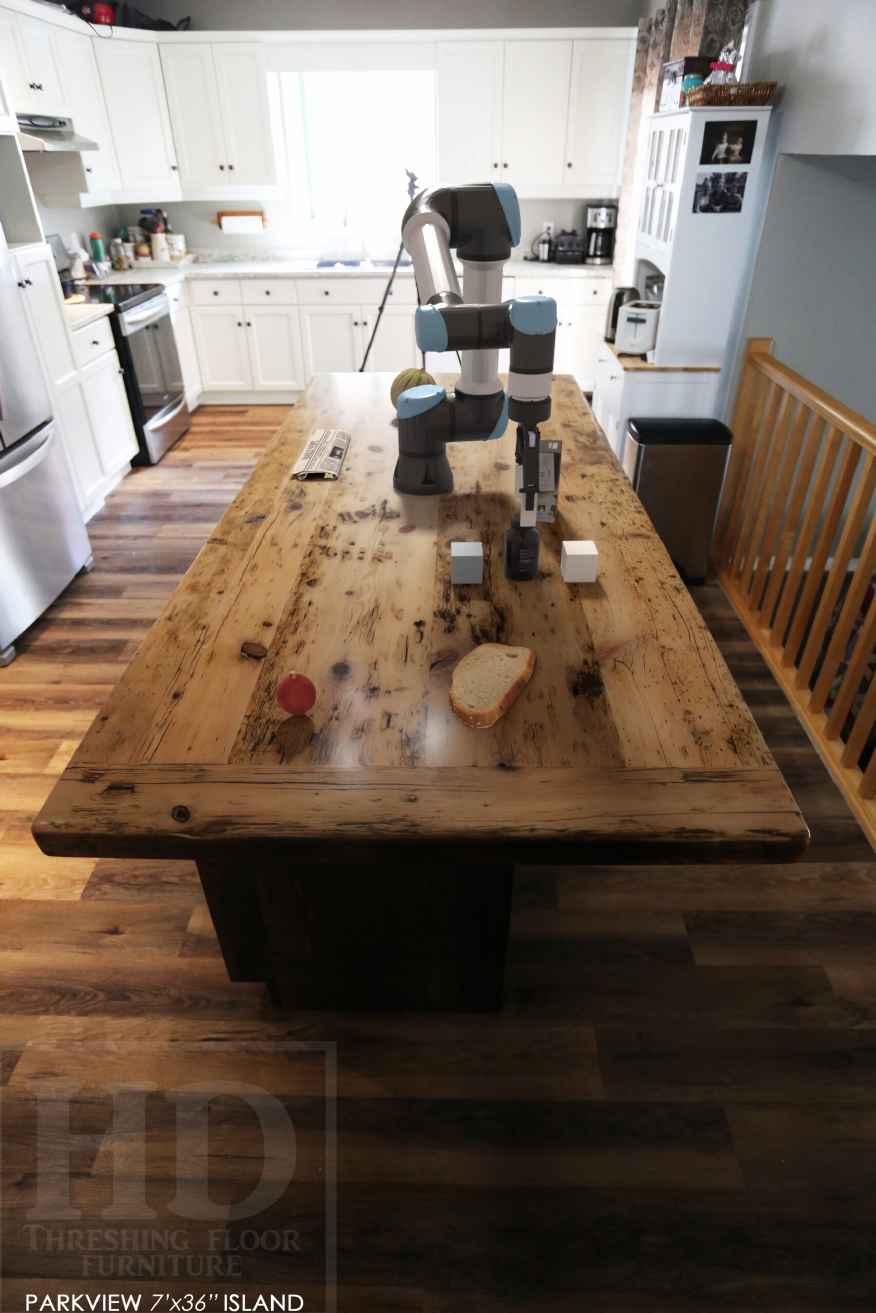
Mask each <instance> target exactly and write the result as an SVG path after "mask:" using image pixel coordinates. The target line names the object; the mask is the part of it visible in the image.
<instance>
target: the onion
mask: <svg viewBox="0 0 876 1313" xmlns="http://www.w3.org/2000/svg"><path fill="white" fill-rule="evenodd" d="M316 700H317V688H316V687H315V685H314V683H313V681H312V680H311V679H310V678H309V677H308V676H306V675H304V674H303V673H299V672H297V671H290V672H289V674H288V675H286V676H285V677H283V678H282V679H281V681H280V683H279V684H278V685H277V689H276V702H277V704H278V705H279V707H280V709H281V710H282V711H284V712H286V713H288V714H290V715H293V716H296V717H299V716H300V717H301V716H303V715H304V714H306V713H307V712H308V711H309V710H311V709H312V707H314V706H315V704H316Z"/></svg>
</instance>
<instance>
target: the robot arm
mask: <svg viewBox="0 0 876 1313" xmlns="http://www.w3.org/2000/svg"><path fill="white" fill-rule="evenodd" d="M519 204H520V203H519V198H518V196H517V192H516V190H515V188H514V187H513V186H512V185H511V184H510V183H508V182H498V181H497V182H496V181H480V182H478V181H477V182H458V183H457V182H456V183H455V182H454V183H448V182H447V183H445V182H444V183H438V184H434V185H431V186H429V187H427V188H425V189H423V190H422V191H421V192H420V193H418V194H417V195H416V196H415V197H414V198H413V199H412V201H411V202H410V203H409V205H408V206H407V208H406V210H405V212H404V215H403V216H402V221H401V228H400V232H401V233H400V234H401V241H402V243H403V244H402V245H403V248H404V249H405V251H406V253H407V254H408V255H409V256H410V259H411V263H412V267H413V272H414V276H415V280H416V284H417V290H418V294H419V300H420V304H421V305H419V306H418V307H417V308H416V309H415V313H414V332H415V334H414V335H415V341H416V346H417V348H418V350H420V351H421V352H426V353H427V352H428V353H429V352H430V353H433V352H434V353H435V352H436V353H438V354H439V353H444V352H445V353H446V352H461V355H460V356H461V361H460V362H461V364H460V365H461V366H460V369H461V370H460V371H461V372H460V377H458V379H457V380H456V381H455V382H454V385H453V386H454V388H453V389H454V390H453V391H447V389H446V388H445V387H444V385H440V384H437V385H422V386H417V387H413V388H410V389H408V390H406V391H404V392H402V393H401V394H400V395H399V397H398V399H397V410H396V414H395V415H396V418H397V437H398V438H397V440H398V442H397V444H398V457H397V461H396V464H395V467H394V472H393V475H392V483H393V484H392V485H393V486H392V487H394V489H396V490H397V491H398V492H400V493H403V494H407V495H413V496H414V495H415V496H429V495H431V496H432V495H436V494H441V493H444V492H446V491H448V490H450V489H451V488H453V485H454V474H453V472H452V471H453V470H452V468H451V465H450V461H449V458H448V456H447V447H446V446H447V444H448V443H461V442H462V443H464V442H465V443H466V442H487V441H491V440H498V439H500V438H502V437H503V436H504V434H505V433H506V430H507V428H508V425H509V420H510V421H512V422H515V423H517V427H516V428H515V431H516V432H515V434H516V437H515V438H516V441H515V450H514V451H515V452H514V456H515V461H514V462H515V472H514V496H513V497H514V499H521V503H520V513H521V519H520V526H537V521H536V510H537V493H539V491H540V488H539V441H540V440H541V430H540V429H539V426H538V424H539V423H544V422H546V421H548V420H549V419H550V418H551V414H552V400H553V399H552V397H551V396H550V395H552V393H553V382H555V381H556V380H557V376H556V375H555V374H554V364H555V351H556V349H555V348H556V337H557V336H556V335H557V326H558V322H559V321H558V316H557V315H558V310H557V309H558V308H557V307H558V303H557V301H556V300H555V299H554V298H553V297H551V296H545V295H544V296H543V295H525V296H518V297H516V298H510V299H509V298H508V299H506V300H505V301H503V302H502V298H503V294H502V293H503V278H504V275H503V274H504V273H503V272H504V266H505V265H506V264H507V263H508V261H510V259H512V248H514V249H515V248H516V247H519V245H520V242H521V237H522V221H521V220H522V218H521V209H520V205H519ZM451 249H452V250H455V253H456V254H455V257H456V259H457V260H458V261H459V262H460V264H461V265H462V271H463V272H462V289H461V287H460V282H459V279H458V276H457V272H456V269H455V265H454V260H453V257H452V253H451ZM507 349H508V350H509V366H508V367H509V368H508V377H507V378H508V383H507V384H508V385H507V389H505V388H504V382H503V381H502V380H501V379H500V378H499V377H498V376H499V355H500V354H499V353H500V350H507ZM530 485H534V486H530Z"/></svg>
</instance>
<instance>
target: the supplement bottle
mask: <svg viewBox="0 0 876 1313" xmlns="http://www.w3.org/2000/svg"><path fill="white" fill-rule="evenodd" d="M520 519H521V512H519V513H515V514H514V513H513V514H512V515H511V516H510V523H509V529H507V530H506V532H505V534H504V554H503V555H504V557H503V558H504V560H503V572H504V574H505V576H506V577H507V578H508V579H510V580H513V581H519V582H521V581H522V582H525V581H531V580H534V579H535V578H536V577H537V576H538V575H539V569H540V568H539V567H540V548H541V534H540V531H539V530H538V529H537V528H536V526H537V525H536V526H520Z"/></svg>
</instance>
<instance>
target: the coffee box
mask: <svg viewBox="0 0 876 1313" xmlns="http://www.w3.org/2000/svg"><path fill="white" fill-rule="evenodd" d="M562 449H563V440H562V439H561V440H559V439H540V441H539V488H540V491H539V493H537V510H536V522H540V523H543V522H544V523H549V524H550V523H551V524H553V523H555V521H556V516H557V511H558V506H559V505H558V504H559V503H558V502H559V494H560V493H559V492H560V479H561V466H562V454H563V453H562V452H563V450H562ZM529 486H534V485H529Z"/></svg>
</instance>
